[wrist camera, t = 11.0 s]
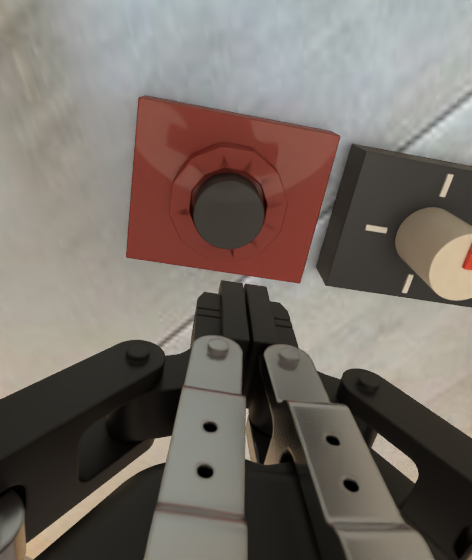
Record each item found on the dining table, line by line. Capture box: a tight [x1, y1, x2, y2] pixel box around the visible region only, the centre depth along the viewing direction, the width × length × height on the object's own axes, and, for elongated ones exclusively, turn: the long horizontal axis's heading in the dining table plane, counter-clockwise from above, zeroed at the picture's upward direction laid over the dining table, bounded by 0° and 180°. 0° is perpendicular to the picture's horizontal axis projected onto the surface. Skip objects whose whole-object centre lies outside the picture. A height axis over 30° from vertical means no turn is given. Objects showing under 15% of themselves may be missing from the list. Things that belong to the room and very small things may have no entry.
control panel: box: [317, 144, 472, 307], centre depth 29 cm, size 11×9×3 cm
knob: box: [395, 207, 472, 301], centre depth 25 cm, size 4×4×5 cm
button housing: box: [126, 95, 340, 283], centre depth 27 cm, size 12×10×4 cm
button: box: [193, 173, 265, 249], centre depth 25 cm, size 4×4×2 cm
